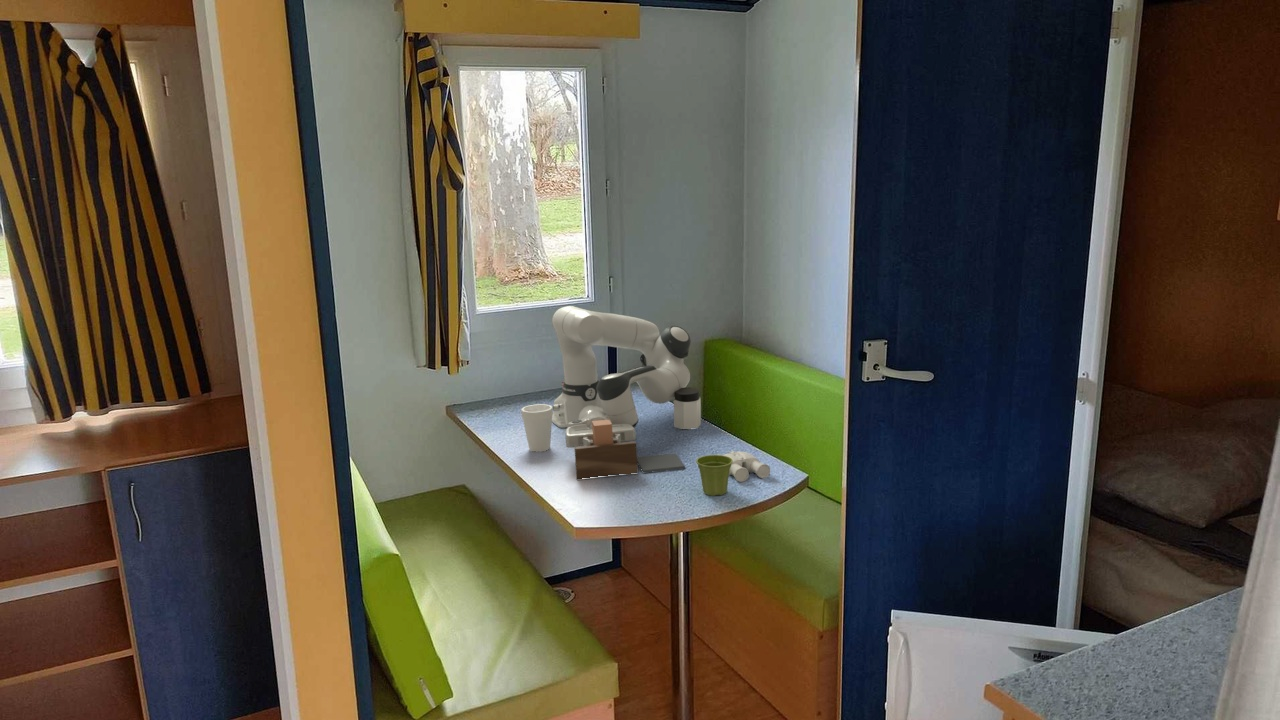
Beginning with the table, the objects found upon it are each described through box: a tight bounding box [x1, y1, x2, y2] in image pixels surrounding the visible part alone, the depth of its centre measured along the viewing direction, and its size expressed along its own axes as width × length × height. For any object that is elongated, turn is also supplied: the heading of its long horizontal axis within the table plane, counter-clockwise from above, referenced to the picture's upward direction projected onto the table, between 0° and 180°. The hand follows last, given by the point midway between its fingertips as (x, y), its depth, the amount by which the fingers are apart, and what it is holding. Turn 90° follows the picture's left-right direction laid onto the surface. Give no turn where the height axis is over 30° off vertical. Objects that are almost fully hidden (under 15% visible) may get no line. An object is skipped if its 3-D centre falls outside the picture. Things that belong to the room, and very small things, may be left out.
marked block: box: [592, 420, 613, 445], centre depth 252 cm, size 5×5×14 cm
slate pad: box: [637, 452, 686, 473], centre depth 257 cm, size 12×12×1 cm
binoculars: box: [717, 450, 771, 483], centre depth 248 cm, size 10×16×5 cm, turn 19°
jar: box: [673, 387, 702, 430], centre depth 291 cm, size 9×8×12 cm
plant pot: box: [696, 454, 733, 496], centre depth 232 cm, size 9×9×9 cm
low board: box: [574, 441, 639, 480], centre depth 248 cm, size 2×17×9 cm, turn 100°
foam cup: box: [520, 403, 554, 453], centre depth 275 cm, size 10×9×13 cm
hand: (603, 443), depth 252 cm, fingers open, 6 cm apart
